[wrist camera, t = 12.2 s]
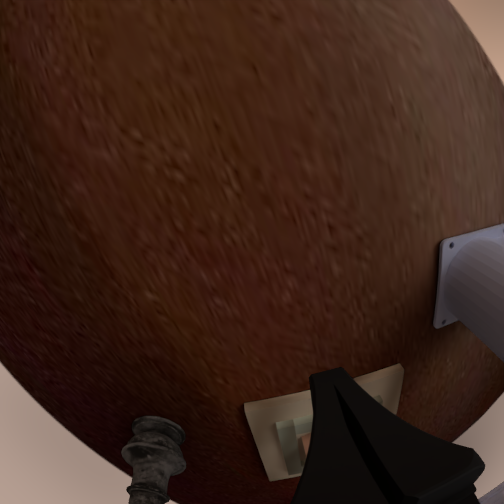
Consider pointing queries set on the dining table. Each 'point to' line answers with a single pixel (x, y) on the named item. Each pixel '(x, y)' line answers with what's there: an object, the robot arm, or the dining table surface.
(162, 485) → the dark grey chess piece
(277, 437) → the pocket board
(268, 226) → the dining table surface
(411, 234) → the dining table surface
